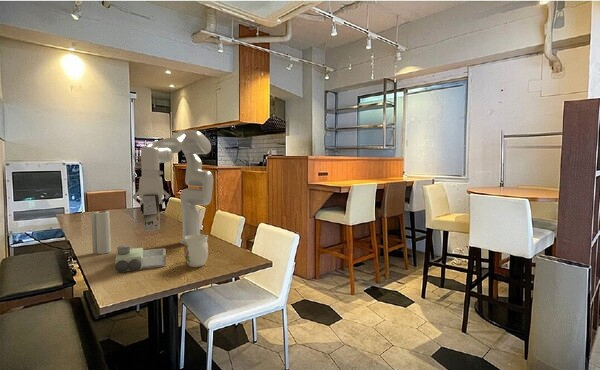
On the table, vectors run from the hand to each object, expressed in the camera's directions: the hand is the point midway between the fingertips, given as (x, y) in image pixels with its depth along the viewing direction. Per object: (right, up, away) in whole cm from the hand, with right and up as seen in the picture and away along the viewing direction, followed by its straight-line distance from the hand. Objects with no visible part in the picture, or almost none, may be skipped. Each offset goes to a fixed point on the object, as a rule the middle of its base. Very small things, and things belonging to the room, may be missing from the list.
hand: (151, 212), depth 154 cm
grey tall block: (-33, -23, +19) cm, 45 cm away
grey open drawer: (0, -24, +2) cm, 24 cm away
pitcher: (+20, -25, +2) cm, 32 cm away
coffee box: (0, -8, +1) cm, 8 cm away
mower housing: (-9, -24, -1) cm, 26 cm away
